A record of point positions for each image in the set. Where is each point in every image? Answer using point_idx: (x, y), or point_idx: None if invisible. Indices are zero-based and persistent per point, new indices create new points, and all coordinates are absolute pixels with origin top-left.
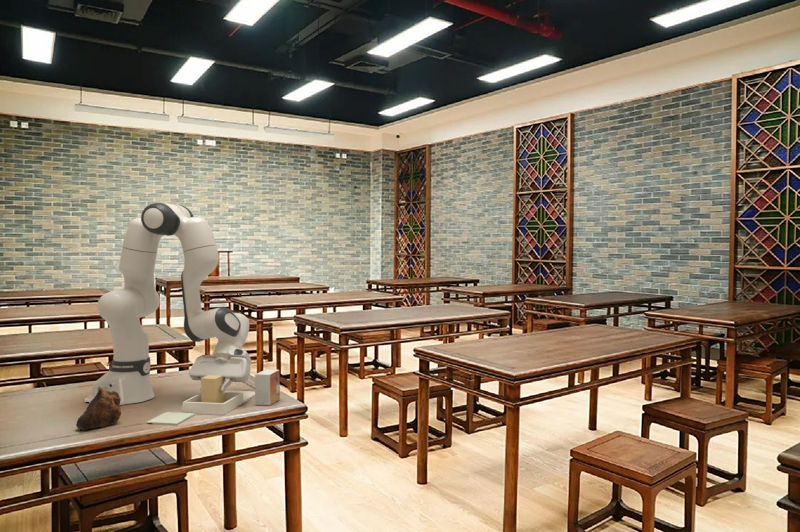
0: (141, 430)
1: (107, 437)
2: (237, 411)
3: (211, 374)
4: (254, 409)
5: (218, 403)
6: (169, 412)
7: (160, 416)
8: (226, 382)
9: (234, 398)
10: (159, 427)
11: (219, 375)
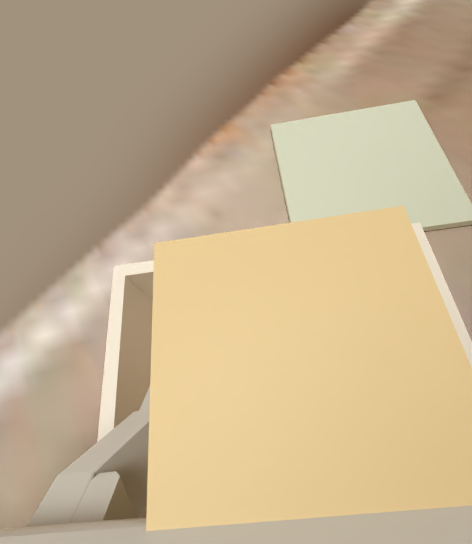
0: (355, 64)
1: (401, 6)
2: (95, 372)
3: (452, 522)
4: (2, 442)
5: (153, 265)
6: (451, 218)
7: (429, 161)
8: (100, 450)
9: (101, 436)
10: (318, 98)
11: (215, 514)
